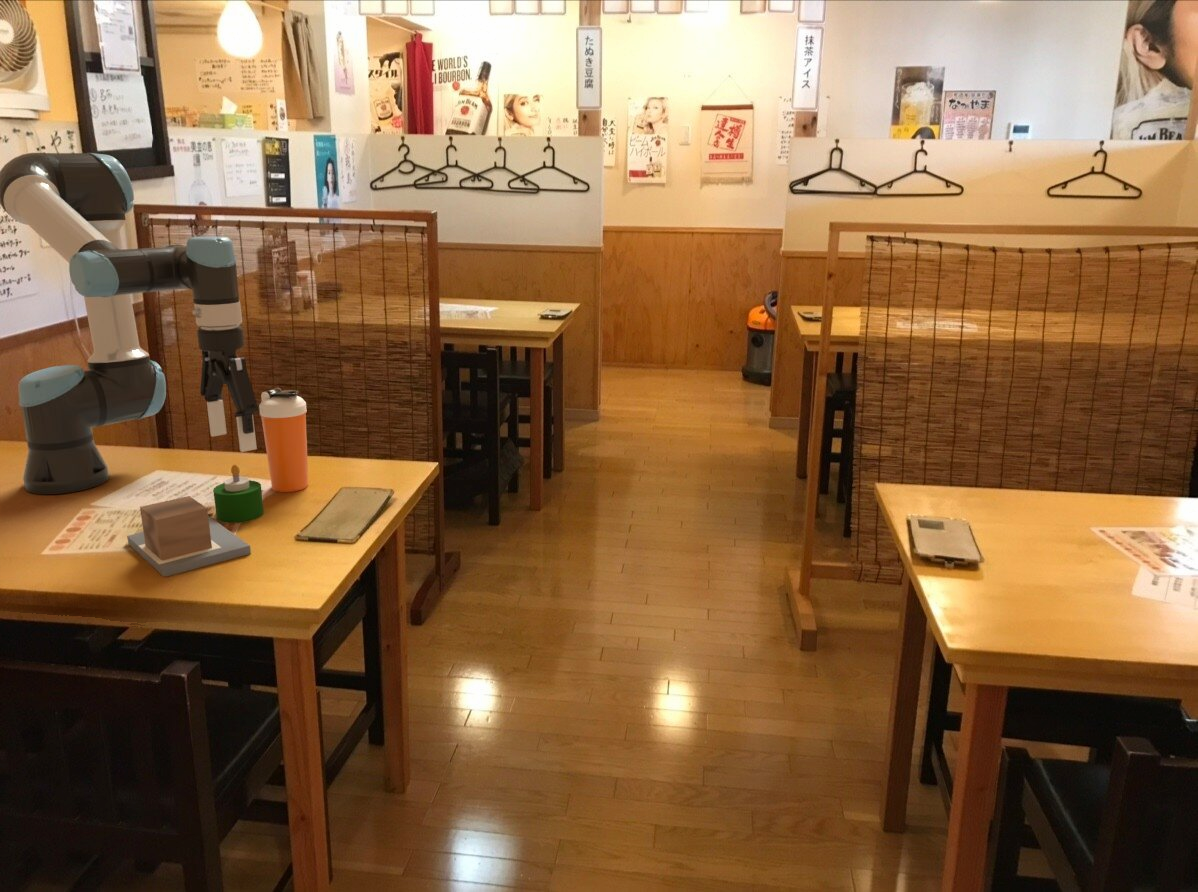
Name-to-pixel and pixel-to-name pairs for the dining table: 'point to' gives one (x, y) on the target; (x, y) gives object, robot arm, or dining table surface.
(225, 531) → the board
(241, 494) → the candle
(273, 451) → the shaker bottle
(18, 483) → the dining table surface
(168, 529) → the block
